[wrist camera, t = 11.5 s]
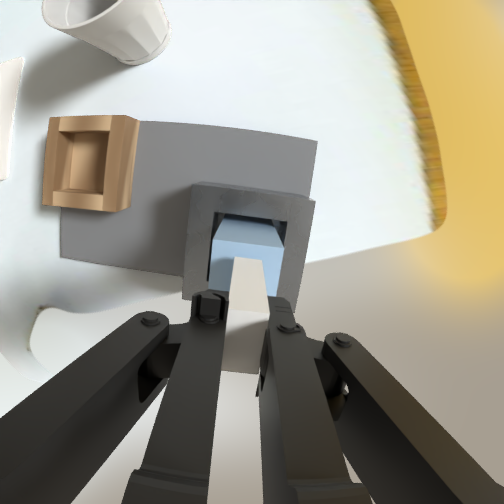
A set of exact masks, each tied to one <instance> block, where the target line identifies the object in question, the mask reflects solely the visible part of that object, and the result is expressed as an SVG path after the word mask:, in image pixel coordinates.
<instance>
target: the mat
mask: <svg viewBox="0 0 504 504" xmlns="http://www.w3.org/2000/svg"><path fill="white" fill-rule="evenodd" d="M317 142H318V141H314V140H309V139H304V138H298V137H292V136H286V135H280V134H274V133H268V132H261V131H254V130H246V129H238V128H230V127H221V126H211V125H200V124H188V123H174V122H156V121H140V125H139V132H138V139H137V146H136V155H135V163H134V173H133V183H132V194H131V207H129V208H126V209H123V210H120V211H118V212H109V211H100V210H90V209H81V208H71V207H61V255H62V257H65V258H70V259H76V260H82V261H87V262H93V263H99V264H105V265H111V266H117V267H124V268H130V269H136V270H143V271H149V272H156V273H162V274H169V275H176V276H184V263H185V251H186V239H187V229H188V219H189V209H190V200H191V191H192V184H194V183H197V182H201V181H206V182H214V183H222V184H230V185H238V186H246V187H253V188H260V189H267V190H274V191H281V192H287V193H293V194H300V195H304V196H307V197H308V198H309V195H310V189H311V182H312V176H313V170H314V163H315V156H316V149H317Z"/></svg>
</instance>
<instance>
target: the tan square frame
mask: <svg viewBox="0 0 504 504" xmlns="http://www.w3.org/2000/svg"><path fill="white" fill-rule="evenodd" d="M139 125H140V121H139V120H137V119H134V118H132V117H129V116H127V115H92V116H66V117H50V120H49V127H48V134H47V142H46V152H45V162H44V176H43V197H42V205H51V206H61V207H71V208H81V209H90V210H100V211H109V212H118V211H120V210H123V209H126V208H129V207H131V194H132V183H133V173H134V163H135V155H136V146H137V139H138V132H139Z"/></svg>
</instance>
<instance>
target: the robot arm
mask: <svg viewBox="0 0 504 504" xmlns="http://www.w3.org/2000/svg"><path fill="white" fill-rule="evenodd" d="M259 368H260V376H259V381H258V386H257V391H256V397H258V396H259V408H260V409H259V410H260V431H261V457H262V480H263V504H372V501H371V497H372V499H373V500H374V502H375V503H376V504H504V487H503V486H501V485H499V484H497V483H496V482H495V481H494V480H493V479H492V478H491V477H490V476H489V475H488V474H487V473H486V472H485V471H484V470H483V469H482V468H481V466H480V465H479V464H478V463H477V462H476V461H475V460H474V459H473V458H472V457H471V456H470V455H469V454H468V453H467V452H466V451H465V450H464V449H463V448H462V447H461V446H460V445H459V444H458V442H457V441H456V440H455V439H454V438H453V437H452V436H451V435H450V434H449V433H448V432H447V431H446V430H445V429H444V428H443V427H442V426H441V425H440V424H439V423H438V422H437V421H436V420H435V419H434V418H433V417H432V416H431V415H430V414H429V413H428V412H427V411H426V410H425V409H424V408H423V407H422V405H421V404H420V403H419V402H417V400H416V399H415V398H414V397H413V396H412V395H411V394H410V393H409V392H408V391H407V390H406V389H405V388H404V387H403V386H402V385H401V384H400V383H399V382H398V381H397V380H396V379H395V378H394V377H393V376H392V375H391V374H390V373H389V372H388V371H387V370H386V369H385V368H384V367H383V366H382V365H381V364H380V363H379V362H378V361H377V360H376V359H375V358H374V357H373V356H372V355H371V354H370V353H369V352H368V351H367V350H366V349H365V348H364V347H363V346H362V345H361V344H360V343H359V342H358V341H357V340H356V339H355V338H353V337H351V336H349V335H348V334H343V333H330V334H328V335H326V337H325V340H324V342H322V341H317V340H314V339H311V338H308V337H307V336H306V333H305V331H304V329H303V327H302V326H300V325H299V324H298V323H296V322H295V319H294V315H293V312H292V309H291V305H290V302H288V301H287V300H286V299H285V298H283V297H275V296H267V291H266V284H265V277H264V271H263V264H262V260H258V259H250V258H243V257H235V258H234V265H233V271H232V278H231V285H230V292H228V291H220V290H213V289H208V290H206V291H201V292H197V293H194V294H193V295H192V304H191V317H190V320H189V322H187V323H183V324H173V325H171V324H169V319H168V318H167V317H166V316H165V315H163V314H160V313H157V312H153V311H151V312H150V311H146V312H142V313H138V314H136V315H135V316H133V317H132V318H130V319H129V320H128V321H126V322H125V323H124V324H122V325H121V326H120V327H118V328H117V329H116V330H114V331H113V332H112V333H110V334H109V335H108V336H106V337H105V338H104V339H102V340H101V341H100V342H98V343H97V344H96V345H95V346H93V347H92V348H90V349H89V350H88V351H87V352H85V353H84V354H82V355H81V356H80V357H79V358H77V359H76V360H75V361H73V362H72V363H71V364H69V365H68V366H67V367H66V368H64V369H63V370H62V371H60V372H59V373H58V374H56V375H55V376H54V377H52V378H51V379H50V380H49V381H47V382H46V383H45V384H43V385H42V386H41V387H40V388H38V389H37V390H36V391H34V392H33V393H32V394H30V395H29V396H28V397H27V398H25V399H24V400H23V401H22V402H20V403H19V404H18V405H16V406H15V407H14V408H13V409H11V410H10V411H9V412H8V413H6V414H5V415H4V416H2V418H0V504H71V503H72V501H73V500H74V499H75V498H76V496H77V495H78V494H79V493H80V491H81V490H82V489H83V488H84V487H85V486H86V484H87V483H88V482H89V481H90V479H91V478H92V477H93V476H94V474H95V473H96V472H97V471H98V470H99V468H100V467H101V466H102V465H103V463H104V462H105V461H106V460H107V458H108V457H109V456H110V455H111V453H112V452H113V451H114V450H115V449H116V447H117V446H118V445H119V443H120V442H121V441H122V440H123V439H124V437H125V436H126V435H127V434H128V432H129V431H130V430H131V429H132V427H133V426H134V425H135V424H136V422H137V421H138V420H139V419H140V417H141V416H142V415H143V413H144V412H145V411H146V410H147V408H148V407H149V406H150V405H151V403H152V402H153V401H154V400H155V398H156V397H157V396H158V395H159V393H160V392H161V391H162V389H163V388H164V387H165V386H166V384H167V386H166V389H165V392H164V396H163V398H162V401H161V404H160V408H159V411H158V414H157V417H156V420H155V423H154V426H153V429H152V432H151V436H150V439H149V442H148V445H147V448H146V452H145V455H144V459H143V462H142V465H141V467H140V469H139V470H136V469H135V470H134V471H133V472H132V473H131V476H130V478H129V481H128V484H127V487H126V490H125V493H124V497H123V500H122V503H121V504H207V496H208V486H209V476H210V466H211V456H212V447H213V437H214V428H215V419H216V410H217V400H218V392H219V383H220V375H221V370H222V371H230V372H239V373H248V374H258V373H259ZM168 378H169V380H168ZM167 382H168V383H167ZM346 384H347V386H348V390H349V393H347V391H346V390H345V389H344V388H345V386H346ZM343 453H344V455H345V457H346V458H347V460H348V461H349V463H350V464H351V466H352V468H353V469H354V471H355V472H356V474H357V475H358V477H359V479H360V480H361V482H362V483H363V484H362V483H353V482H352V481H351V479H350V476H349V473H348V470H347V466H346V463H345V459H344V456H343ZM370 496H371V497H370Z"/></svg>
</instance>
